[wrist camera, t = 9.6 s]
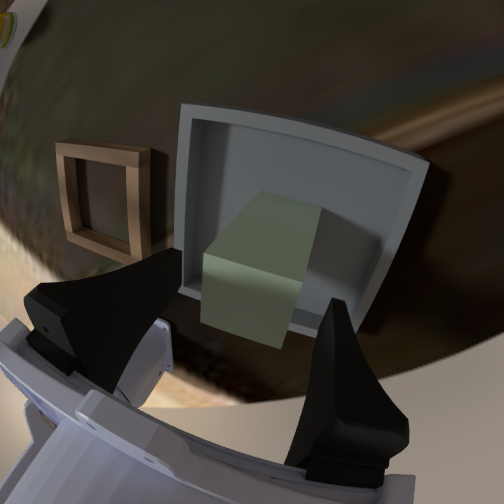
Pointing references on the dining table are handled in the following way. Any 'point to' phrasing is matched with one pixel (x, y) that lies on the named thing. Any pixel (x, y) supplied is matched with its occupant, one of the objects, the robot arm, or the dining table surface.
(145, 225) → the square brown frame
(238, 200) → the tray
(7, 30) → the supplement bottle
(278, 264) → the green elongated block
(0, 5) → the square serving dish
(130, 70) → the dining table surface
